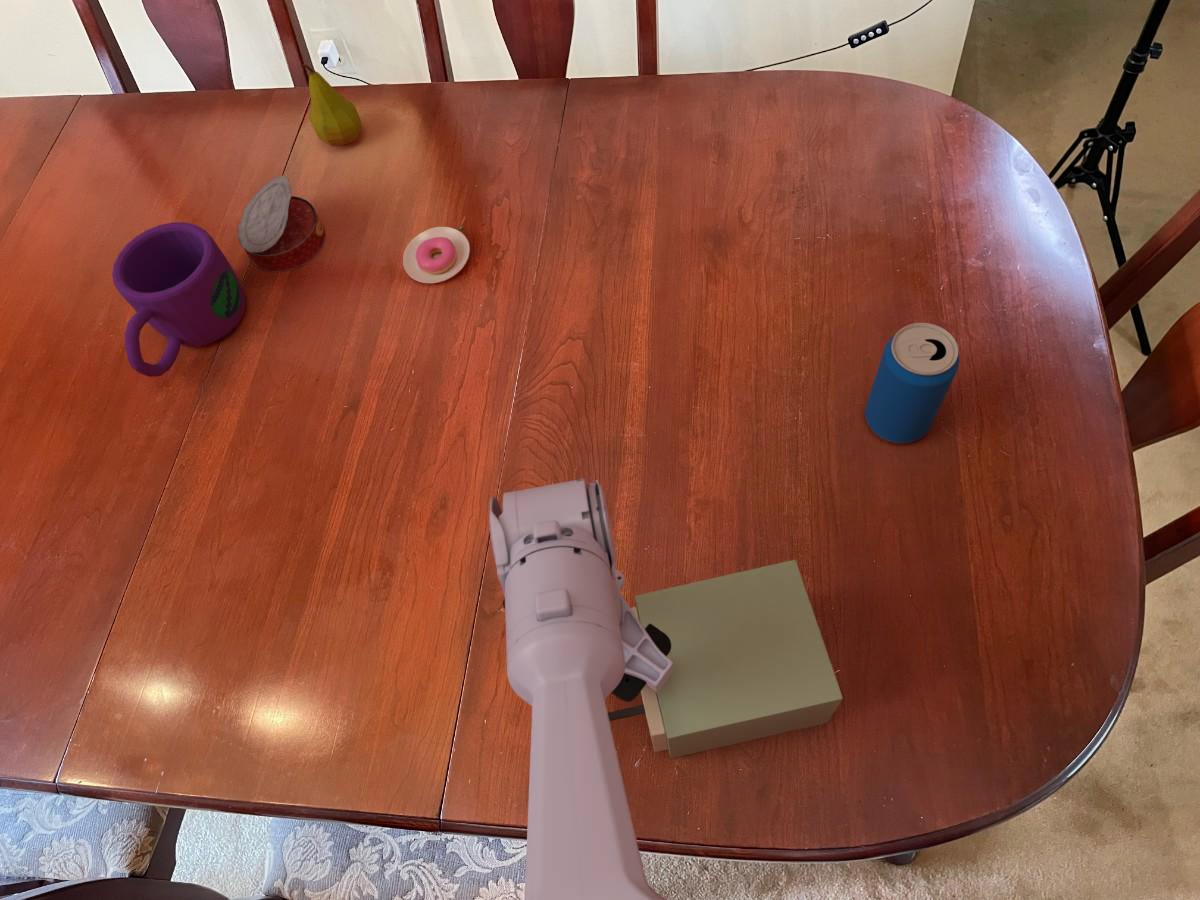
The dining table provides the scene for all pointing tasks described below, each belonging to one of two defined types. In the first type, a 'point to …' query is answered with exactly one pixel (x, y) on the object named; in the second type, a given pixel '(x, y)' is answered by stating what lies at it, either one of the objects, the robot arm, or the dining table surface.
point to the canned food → (280, 228)
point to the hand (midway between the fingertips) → (594, 649)
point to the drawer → (647, 713)
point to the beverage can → (911, 382)
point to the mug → (176, 291)
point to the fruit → (331, 112)
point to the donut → (436, 254)
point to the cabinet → (740, 658)
